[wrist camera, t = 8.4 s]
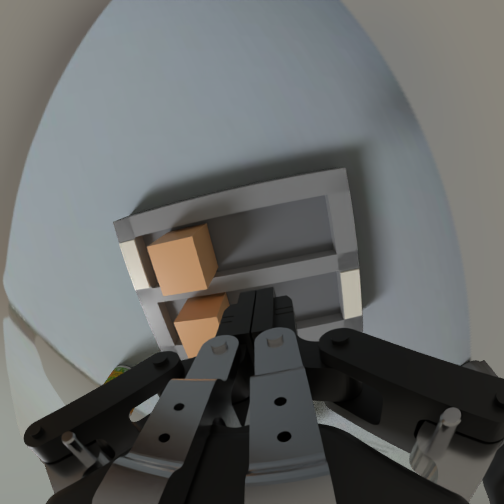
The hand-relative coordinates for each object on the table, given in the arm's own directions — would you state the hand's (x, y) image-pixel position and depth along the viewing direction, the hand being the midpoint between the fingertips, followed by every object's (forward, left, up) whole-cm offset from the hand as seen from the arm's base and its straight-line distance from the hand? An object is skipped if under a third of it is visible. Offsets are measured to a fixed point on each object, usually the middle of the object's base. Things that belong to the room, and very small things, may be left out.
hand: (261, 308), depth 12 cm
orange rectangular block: (+7, +7, -14) cm, 17 cm away
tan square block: (+7, 0, -14) cm, 15 cm away
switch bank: (+3, +3, -16) cm, 17 cm away
